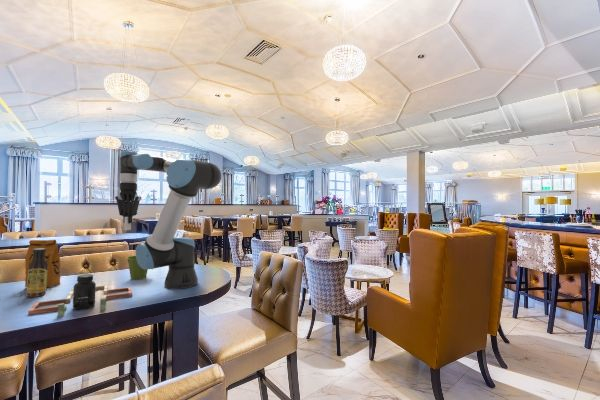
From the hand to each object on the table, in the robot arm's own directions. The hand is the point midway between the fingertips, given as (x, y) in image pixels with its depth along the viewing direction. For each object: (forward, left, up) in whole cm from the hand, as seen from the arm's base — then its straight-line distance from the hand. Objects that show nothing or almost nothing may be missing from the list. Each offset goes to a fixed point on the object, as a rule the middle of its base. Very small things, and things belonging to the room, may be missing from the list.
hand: (127, 229), depth 146 cm
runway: (-3, +26, -26) cm, 37 cm away
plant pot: (+1, -10, -27) cm, 28 cm away
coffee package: (+35, +11, -27) cm, 45 cm away
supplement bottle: (-9, +33, -27) cm, 43 cm away
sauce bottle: (+23, +24, -27) cm, 43 cm away
